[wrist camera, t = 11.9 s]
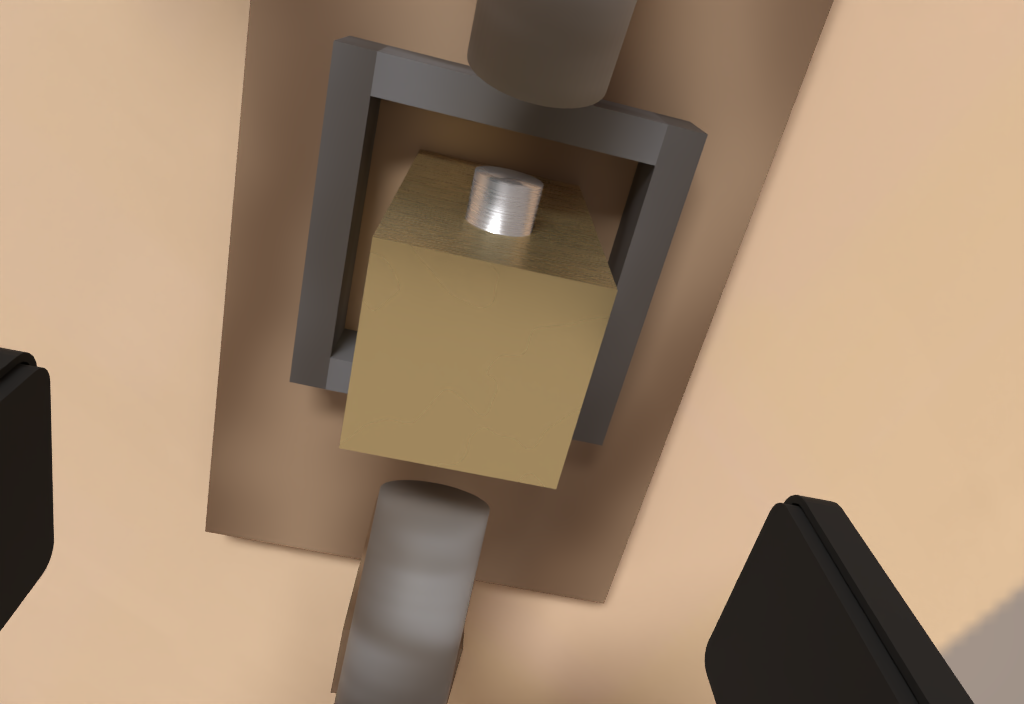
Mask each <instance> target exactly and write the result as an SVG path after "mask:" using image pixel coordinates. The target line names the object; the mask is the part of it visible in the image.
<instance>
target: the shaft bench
mask: <svg viewBox="0 0 1024 704" xmlns="http://www.w3.org/2000/svg"><path fill="white" fill-rule="evenodd" d="M832 3H833V0H250V11H249V23H248V35H247V47H246V58H245V70H244V82H243V94H242V105H241V117H240V129H239V141H238V152H237V164H236V176H235V188H234V199H233V211H232V223H231V235H230V246H229V258H228V270H227V282H226V294H225V305H224V317H223V329H222V341H221V352H220V364H219V376H218V388H217V399H216V411H215V423H214V435H213V446H212V458H211V470H210V482H209V493H208V505H207V517H206V529H205V531H206V532H211V533H217V534H222V535H228V536H234V537H239V538H245V539H250V540H256V541H261V542H267V543H272V544H278V545H283V546H289V547H294V548H300V549H305V550H311V551H316V552H322V553H328V554H333V555H339V556H344V557H350V558H355V559H361V561H360V565H359V569H358V573H357V577H356V580H355V584H354V588H353V592H352V596H351V600H350V604H349V608H348V612H347V616H346V619H345V623H344V627H343V632H342V637H341V642H340V647H339V653H338V658H337V663H336V668H335V673H334V678H333V684H332V689H331V693H337V694H336V698H335V703H334V704H447V702H448V699H449V695H450V692H451V688H452V685H453V681H454V678H455V674H456V671H457V667H458V664H459V660H460V657H461V653H462V650H463V637H464V624H465V619H466V615H467V610H468V606H469V601H470V597H471V593H472V588H473V584H474V580H477V581H482V582H488V583H493V584H499V585H505V586H510V587H516V588H521V589H527V590H532V591H538V592H543V593H549V594H554V595H560V596H565V597H571V598H576V599H582V600H588V601H593V602H599V603H604V602H605V599H606V597H607V594H608V591H609V589H610V586H611V583H612V581H613V578H614V576H615V573H616V570H617V568H618V565H619V562H620V560H621V557H622V555H623V552H624V549H625V547H626V544H627V541H628V539H629V536H630V534H631V531H632V528H633V526H634V523H635V520H636V518H637V515H638V512H639V510H640V507H641V505H642V502H643V499H644V497H645V494H646V491H647V489H648V486H649V484H650V481H651V478H652V476H653V473H654V470H655V468H656V465H657V463H658V460H659V457H660V455H661V452H662V449H663V447H664V444H665V442H666V439H667V436H668V434H669V431H670V428H671V426H672V423H673V421H674V418H675V415H676V413H677V410H678V407H679V405H680V402H681V400H682V397H683V394H684V392H685V389H686V386H687V384H688V381H689V378H690V376H691V373H692V371H693V368H694V365H695V363H696V360H697V357H698V355H699V352H700V350H701V347H702V344H703V342H704V339H705V336H706V334H707V331H708V329H709V326H710V323H711V321H712V318H713V315H714V313H715V310H716V308H717V305H718V302H719V300H720V297H721V294H722V292H723V289H724V287H725V284H726V281H727V279H728V276H729V273H730V271H731V268H732V266H733V263H734V260H735V258H736V255H737V252H738V250H739V247H740V244H741V242H742V239H743V237H744V234H745V231H746V229H747V226H748V223H749V221H750V218H751V216H752V213H753V210H754V208H755V205H756V202H757V200H758V197H759V195H760V192H761V189H762V187H763V184H764V181H765V179H766V176H767V174H768V171H769V168H770V166H771V163H772V160H773V158H774V155H775V153H776V150H777V147H778V145H779V142H780V139H781V137H782V134H783V132H784V129H785V126H786V124H787V121H788V118H789V116H790V113H791V110H792V108H793V105H794V103H795V100H796V97H797V95H798V92H799V89H800V87H801V84H802V82H803V79H804V76H805V74H806V71H807V68H808V66H809V63H810V61H811V58H812V55H813V53H814V50H815V47H816V45H817V42H818V40H819V37H820V34H821V32H822V29H823V26H824V24H825V21H826V19H827V16H828V13H829V11H830V8H831V5H832ZM420 149H422V150H426V151H430V152H435V153H439V154H443V155H448V156H452V157H456V158H461V159H465V160H469V161H473V162H478V163H482V164H486V165H491V166H495V167H501V168H506V169H511V170H515V171H518V172H521V173H525V174H530V175H534V176H538V177H543V178H547V179H551V180H556V181H560V182H564V183H568V184H573V185H577V186H580V189H581V192H582V195H583V197H584V200H585V203H586V205H587V208H588V211H589V214H590V216H591V219H592V222H593V224H594V227H595V230H596V233H597V235H598V238H599V241H600V243H601V246H602V249H603V252H604V254H605V257H606V260H607V262H608V265H609V268H610V271H611V273H612V276H613V279H614V282H615V284H616V287H617V290H618V291H617V294H616V297H615V301H614V304H613V307H612V310H611V313H610V317H609V320H608V323H607V326H606V330H605V333H604V336H603V339H602V343H601V346H600V349H599V352H598V356H597V359H596V362H595V365H594V368H593V372H592V375H591V378H590V381H589V385H588V388H587V391H586V394H585V398H584V401H583V404H582V407H581V410H580V414H579V417H578V420H577V423H576V427H575V430H574V433H573V436H572V440H571V443H570V446H569V449H568V452H567V456H566V459H565V462H564V465H563V469H562V472H561V475H560V478H559V482H558V485H557V488H556V489H552V488H547V487H541V486H536V485H531V484H526V483H520V482H515V481H510V480H504V479H499V478H494V477H489V476H483V475H478V474H473V473H467V472H462V471H457V470H451V469H446V468H441V467H436V466H430V465H425V464H420V463H414V462H409V461H404V460H399V459H393V458H388V457H383V456H377V455H372V454H367V453H362V452H356V451H351V450H346V449H340V448H339V445H340V439H341V433H342V426H343V420H344V414H345V408H346V401H347V395H348V389H349V382H350V376H351V370H352V363H353V357H354V351H355V345H356V338H357V332H358V326H359V319H360V313H361V307H362V300H363V294H364V288H365V282H366V275H367V269H368V263H369V256H370V250H371V244H372V237H373V235H374V233H375V231H376V230H377V228H378V226H379V224H380V222H381V220H382V219H383V217H384V215H385V213H386V211H387V209H388V207H389V206H390V204H391V202H392V200H393V198H394V196H395V195H396V193H397V191H398V189H399V187H400V185H401V184H402V182H403V180H404V178H405V176H406V174H407V173H408V171H409V169H410V167H411V165H412V163H413V161H414V160H415V158H416V156H417V154H418V152H419V150H420Z"/></svg>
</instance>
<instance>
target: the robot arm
mask: <svg viewBox="0 0 1024 704" xmlns="http://www.w3.org/2000/svg"><path fill="white" fill-rule="evenodd" d="M53 545H54V525H53V482H52V438H51V395H50V376H49V373H48V371H47V370H46V369H45V368H41V367H37V364H36V361H35V359H34V357H33V356H32V355H31V354H30V353H27V352H21V351H16V350H10V349H5V348H0V631H1V629H2V628H3V627H4V625H5V624H6V623H7V621H8V620H9V619H10V617H11V616H12V615H13V613H14V612H15V611H16V609H17V608H18V607H19V605H20V604H21V602H22V601H23V600H24V598H25V597H26V596H27V594H28V593H29V592H30V590H31V589H32V588H33V586H34V585H35V584H36V582H37V581H38V580H39V578H40V577H41V576H42V574H43V572H44V571H45V569H46V567H47V565H48V563H49V561H50V558H51V555H52V551H53ZM705 669H706V673H707V676H708V679H709V683H710V686H711V689H712V692H713V695H714V698H715V701H716V704H974V703H973V701H972V700H971V699H970V697H969V695H968V694H967V693H966V691H965V690H964V688H963V687H962V685H961V684H960V682H959V681H958V679H957V678H956V676H955V675H954V673H953V672H952V670H951V669H950V668H949V666H948V665H947V663H946V662H945V660H944V659H943V657H942V656H941V654H940V653H939V651H938V650H937V648H936V647H935V645H934V644H933V642H932V641H931V639H930V638H929V636H928V635H927V633H926V632H925V630H924V629H923V628H922V626H921V625H920V623H919V622H918V620H917V619H916V617H915V616H914V614H913V613H912V611H911V610H910V608H909V607H908V605H907V604H906V602H905V601H904V599H903V598H902V596H901V595H900V594H899V592H898V591H897V589H896V588H895V586H894V585H893V583H892V582H891V580H890V579H889V577H888V576H887V574H886V573H885V571H884V570H883V568H882V567H881V565H880V564H879V563H878V561H877V560H876V558H875V557H874V555H873V554H872V552H871V551H870V549H869V548H868V546H867V545H866V543H865V542H864V540H863V539H862V537H861V536H860V534H859V533H858V531H857V530H856V529H855V527H854V526H853V524H852V523H851V521H850V520H849V518H848V517H847V515H846V514H845V512H844V511H843V509H842V508H841V507H840V506H839V505H838V504H837V503H835V502H832V501H826V500H821V499H816V498H810V497H805V496H799V495H793V496H790V497H789V498H788V499H787V500H786V501H785V502H784V503H777V504H776V505H774V506H773V508H772V509H771V511H770V513H769V515H768V517H767V519H766V521H765V523H764V525H763V527H762V529H761V532H760V534H759V536H758V538H757V540H756V542H755V544H754V546H753V548H752V551H751V553H750V555H749V557H748V559H747V561H746V563H745V565H744V567H743V570H742V572H741V574H740V576H739V578H738V580H737V582H736V584H735V586H734V589H733V591H732V593H731V595H730V597H729V599H728V601H727V603H726V605H725V608H724V610H723V612H722V614H721V616H720V618H719V620H718V622H717V624H716V627H715V629H714V631H713V633H712V635H711V637H710V639H709V641H708V644H707V647H706V652H705Z"/></svg>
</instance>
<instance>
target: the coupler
mask: <svg viewBox="0 0 1024 704" xmlns="http://www.w3.org/2000/svg"><path fill="white" fill-rule="evenodd" d="M617 291H618V290H617V287H616V284H615V282H614V279H613V276H612V273H611V271H610V268H609V265H608V262H607V260H606V257H605V254H604V252H603V249H602V246H601V243H600V241H599V238H598V235H597V233H596V230H595V227H594V224H593V222H592V219H591V216H590V214H589V211H588V208H587V205H586V203H585V200H584V197H583V195H582V192H581V189H580V186H577V185H573V184H568V183H564V182H560V181H556V180H551V179H547V178H543V177H538V176H534V175H530V174H525V173H521V172H518V171H515V170H511V169H506V168H501V167H495V166H491V165H486V164H482V163H478V162H473V161H469V160H465V159H461V158H456V157H452V156H448V155H443V154H439V153H435V152H430V151H426V150H422V149H420V150H419V152H418V154H417V156H416V158H415V160H414V161H413V163H412V165H411V167H410V169H409V171H408V173H407V174H406V176H405V178H404V180H403V182H402V184H401V185H400V187H399V189H398V191H397V193H396V195H395V196H394V198H393V200H392V202H391V204H390V206H389V207H388V209H387V211H386V213H385V215H384V217H383V219H382V220H381V222H380V224H379V226H378V228H377V230H376V231H375V233H374V235H373V237H372V244H371V250H370V256H369V263H368V269H367V275H366V282H365V288H364V294H363V300H362V307H361V313H360V319H359V326H358V332H357V338H356V345H355V351H354V357H353V363H352V370H351V376H350V382H349V389H348V395H347V401H346V408H345V414H344V420H343V426H342V433H341V439H340V445H339V448H340V449H346V450H351V451H356V452H362V453H367V454H372V455H377V456H383V457H388V458H393V459H399V460H404V461H409V462H414V463H420V464H425V465H430V466H436V467H441V468H446V469H451V470H457V471H462V472H467V473H473V474H478V475H483V476H489V477H494V478H499V479H504V480H510V481H515V482H520V483H526V484H531V485H536V486H541V487H547V488H552V489H556V488H557V485H558V482H559V478H560V475H561V472H562V469H563V465H564V462H565V459H566V456H567V452H568V449H569V446H570V443H571V440H572V436H573V433H574V430H575V427H576V423H577V420H578V417H579V414H580V410H581V407H582V404H583V401H584V398H585V394H586V391H587V388H588V385H589V381H590V378H591V375H592V372H593V368H594V365H595V362H596V359H597V356H598V352H599V349H600V346H601V343H602V339H603V336H604V333H605V330H606V326H607V323H608V320H609V317H610V313H611V310H612V307H613V304H614V301H615V297H616V294H617Z"/></svg>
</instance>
